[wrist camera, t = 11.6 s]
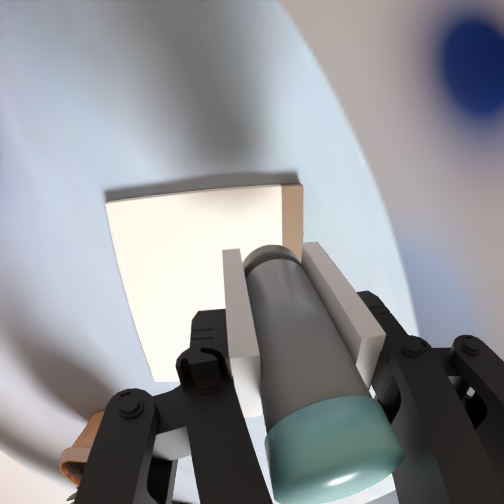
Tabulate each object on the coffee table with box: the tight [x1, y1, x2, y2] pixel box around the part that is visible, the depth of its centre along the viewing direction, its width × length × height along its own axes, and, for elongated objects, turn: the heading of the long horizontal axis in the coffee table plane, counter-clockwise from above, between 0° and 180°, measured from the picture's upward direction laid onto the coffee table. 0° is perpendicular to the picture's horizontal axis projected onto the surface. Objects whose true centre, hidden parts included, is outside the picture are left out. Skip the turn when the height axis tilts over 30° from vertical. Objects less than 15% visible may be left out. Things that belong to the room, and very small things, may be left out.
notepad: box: [105, 183, 303, 382], centre depth 19 cm, size 11×14×1 cm
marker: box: [242, 245, 405, 504], centre depth 9 cm, size 3×3×10 cm
